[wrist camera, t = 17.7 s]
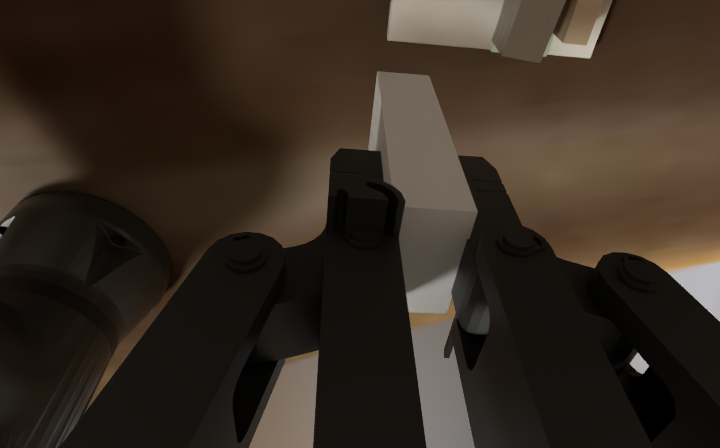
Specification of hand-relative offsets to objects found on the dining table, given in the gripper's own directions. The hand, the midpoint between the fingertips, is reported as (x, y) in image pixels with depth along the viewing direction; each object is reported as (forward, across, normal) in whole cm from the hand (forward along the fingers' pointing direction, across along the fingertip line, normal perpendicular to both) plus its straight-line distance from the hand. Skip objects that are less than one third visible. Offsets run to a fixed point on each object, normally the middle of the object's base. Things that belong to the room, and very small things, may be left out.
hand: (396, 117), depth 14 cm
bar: (+19, +10, +1) cm, 21 cm away
